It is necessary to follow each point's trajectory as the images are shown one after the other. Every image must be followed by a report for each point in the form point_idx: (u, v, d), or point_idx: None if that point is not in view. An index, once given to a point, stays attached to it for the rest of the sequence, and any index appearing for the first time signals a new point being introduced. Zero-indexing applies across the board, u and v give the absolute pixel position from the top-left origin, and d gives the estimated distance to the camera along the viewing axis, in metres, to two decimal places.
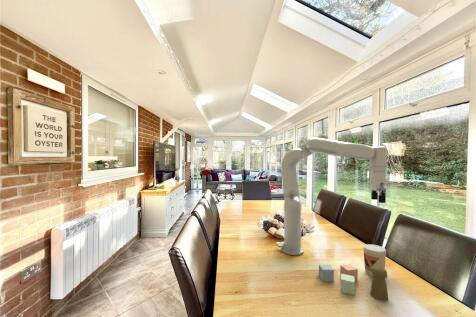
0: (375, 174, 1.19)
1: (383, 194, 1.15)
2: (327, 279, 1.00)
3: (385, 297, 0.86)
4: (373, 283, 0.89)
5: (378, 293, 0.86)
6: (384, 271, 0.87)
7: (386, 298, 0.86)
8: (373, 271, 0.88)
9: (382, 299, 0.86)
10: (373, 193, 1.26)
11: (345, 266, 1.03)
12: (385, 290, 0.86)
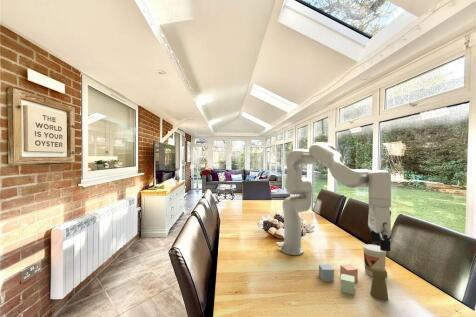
0: (375, 209, 0.86)
1: (387, 239, 0.82)
2: (327, 279, 1.00)
3: (385, 297, 0.86)
4: (373, 283, 0.89)
5: (378, 293, 0.86)
6: (384, 271, 0.87)
7: (386, 298, 0.86)
8: (373, 271, 0.88)
9: (382, 299, 0.86)
10: (373, 233, 0.93)
11: (345, 266, 1.03)
12: (385, 290, 0.86)
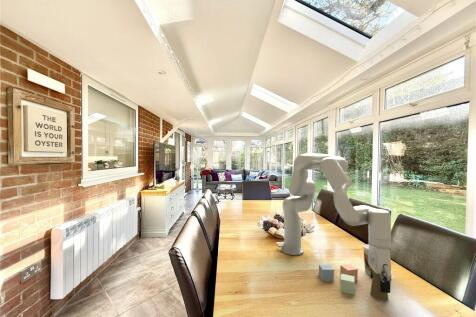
0: (375, 250, 0.86)
1: (387, 282, 0.82)
2: (327, 279, 1.00)
3: (385, 297, 0.86)
4: (373, 283, 0.89)
5: (378, 293, 0.86)
6: None
7: (386, 298, 0.86)
8: (373, 271, 0.88)
9: (382, 299, 0.86)
10: None
11: (345, 266, 1.03)
12: None
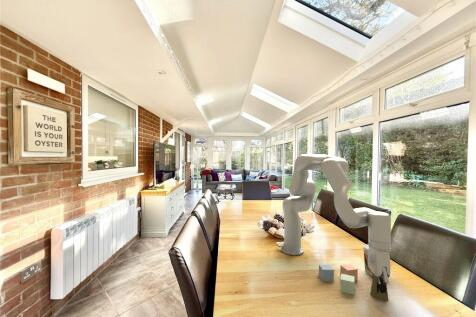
0: (375, 252, 0.86)
1: (383, 284, 0.85)
2: (327, 279, 1.00)
3: (385, 297, 0.86)
4: (373, 283, 0.88)
5: (378, 294, 0.86)
6: None
7: (386, 298, 0.86)
8: None
9: (382, 299, 0.86)
10: None
11: (345, 266, 1.03)
12: None
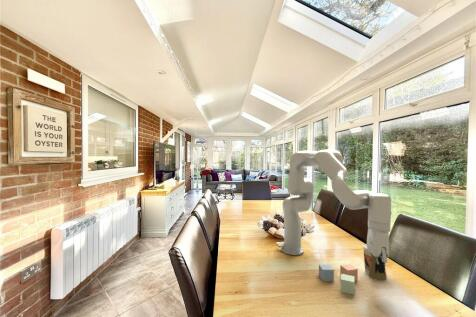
0: (374, 233, 0.86)
1: (382, 264, 0.85)
2: (327, 279, 1.00)
3: (383, 277, 0.86)
4: (372, 264, 0.89)
5: (377, 274, 0.87)
6: None
7: (384, 278, 0.87)
8: None
9: (380, 279, 0.86)
10: None
11: (345, 266, 1.03)
12: None
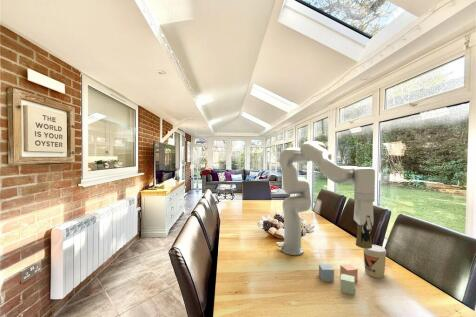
0: (359, 204, 0.92)
1: (367, 232, 0.91)
2: (327, 279, 1.00)
3: (369, 245, 0.92)
4: (358, 233, 0.94)
5: (363, 242, 0.92)
6: None
7: (370, 246, 0.92)
8: None
9: (366, 247, 0.91)
10: None
11: (345, 266, 1.03)
12: None
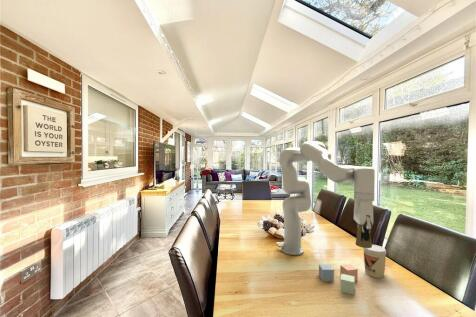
0: (359, 203, 0.92)
1: (367, 232, 0.91)
2: (327, 279, 1.00)
3: (369, 245, 0.92)
4: (358, 233, 0.94)
5: (362, 242, 0.92)
6: None
7: (370, 246, 0.92)
8: None
9: (366, 246, 0.91)
10: None
11: (345, 266, 1.03)
12: None
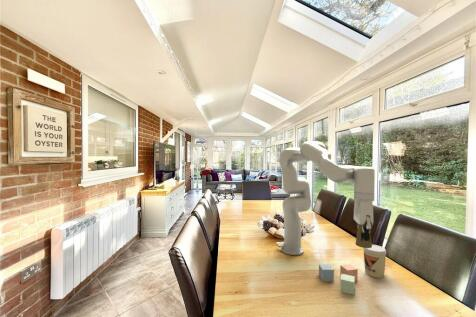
0: (359, 203, 0.92)
1: (367, 232, 0.91)
2: (327, 279, 1.00)
3: (369, 245, 0.92)
4: (358, 233, 0.94)
5: (362, 242, 0.92)
6: None
7: (370, 246, 0.92)
8: None
9: (366, 246, 0.91)
10: None
11: (345, 266, 1.03)
12: None
